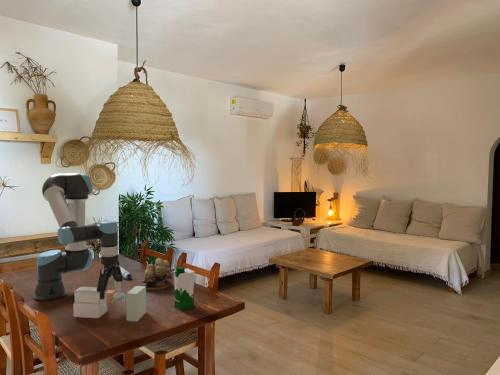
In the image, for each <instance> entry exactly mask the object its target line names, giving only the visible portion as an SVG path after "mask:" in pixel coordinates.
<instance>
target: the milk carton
mask: <svg viewBox="0 0 500 375" xmlns="http://www.w3.org/2000/svg"><path fill="white" fill-rule="evenodd" d="M172 272H173V279H174V307H175V308H176V309H178V310H180V311H185V310H189V309H193V308H195V275H196V274H195V272H196V271H195V270H192V269H190V268H188V267H187V268H186V267H185V266H177V267H176V268H175V270H173V271H172Z"/></svg>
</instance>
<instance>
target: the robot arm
mask: <svg viewBox="0 0 500 375" xmlns="http://www.w3.org/2000/svg"><path fill="white" fill-rule="evenodd" d="M41 193H42V197H43V198H44V200H46V201H47V203H48V204H49V207H50V209H51V211H52V214H53V216H54V217H55V220H56V222H57V225H58V227H59V228H58V229H57V232H56V233H57V240H58V243H60V244H61V245H65V247H64V251H62V250H61V249H51V250H48V251H44V252H42V253H39V254H38V255H37V257H36V276H37V277H36V280H37V282H36V287H35V289H34V293H33V298H34V299H35V300H38V301H51V300H52V301H53V300H56V299H59V298H62V297H64V296H65V295H67V288H66V285H65V283H64V280H63V275H65V274H69V273H74V272H81V271H85V270H88V269H89V268H90V267H91V266H92V262H93V252H92V249H90V248H89V246H88V245H87V244H86V242H91V241H96V240H97V241H100V256H101V257H100V264H101V265H103V268H100V269H99V277H98V281H97V282H98V283H97V286H96V287H97V292H100V306H107V307H108V303H107V294H106V291H107V286H108V283H109V280H110V278H111V276H112V277H113V279H114V282H113V283H114V284H113V285H114V290H117V293H122V291H121V290H122V289H121V282H123V280H124V277H123V276H122V273H121V269H120V261H119V250H120V248H119V233H118V232H119V227H118V222H117V221H115V220H104V221H102V222H93V223H91V224H86V201H87V200H89V195H92V194H93V183H92V180H91V178H90V175H89V174H87V173H77V172H75V173H73V172H72V173H56V174H53V175H51V176H49V177H48V178H47V179H45V181H44V183H43V185H42V189H41Z"/></svg>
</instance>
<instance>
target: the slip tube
mask: <svg viewBox="0 0 500 375" xmlns="http://www.w3.org/2000/svg"><path fill="white" fill-rule="evenodd" d="M105 291H106V294H107V304H113V303H114V302H116V301H117V302H126V292H121V293H117V290H115V289H107V290H105Z"/></svg>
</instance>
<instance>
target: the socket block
mask: <svg viewBox="0 0 500 375" xmlns="http://www.w3.org/2000/svg"><path fill="white" fill-rule="evenodd" d="M125 293H126V292H125ZM125 302H126V304H125V305H126V322H139V321H140V320H141V319H142V317H143V316H144V315H145V314H146V313H147V292H146V286H145V285H143V286H141V285H135V286H134V287H133V288H132V289H130V290H128V291H127V293H126V300H125Z"/></svg>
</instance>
